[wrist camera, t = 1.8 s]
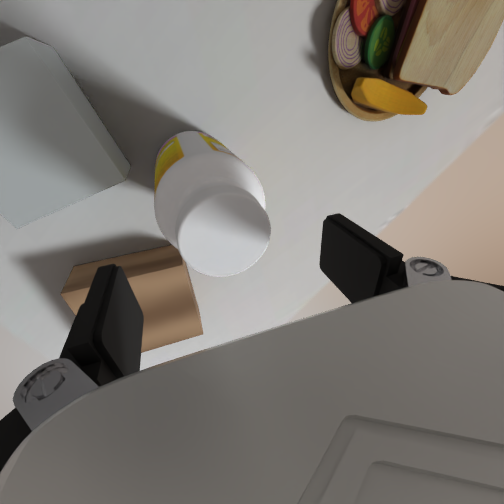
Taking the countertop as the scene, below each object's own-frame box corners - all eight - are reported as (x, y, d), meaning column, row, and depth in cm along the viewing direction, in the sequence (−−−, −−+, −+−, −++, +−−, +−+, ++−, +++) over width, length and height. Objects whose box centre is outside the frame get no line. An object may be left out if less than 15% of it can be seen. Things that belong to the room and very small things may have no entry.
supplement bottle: (165, 210, 23) (170, 305, 13) (145, 133, 19) (130, 182, 9) (233, 199, 25) (286, 276, 15) (227, 126, 21) (292, 161, 11)
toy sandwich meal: (366, -119, 16) (429, -183, 12) (481, -18, 21) (550, -41, 18) (300, 99, 22) (329, 101, 18) (403, 135, 27) (442, 143, 23)
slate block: (-70, 97, 15) (-131, 99, 12) (53, 47, 16) (26, 36, 12) (39, 206, 20) (17, 229, 17) (130, 166, 20) (125, 180, 17)
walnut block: (73, 266, 23) (60, 294, 20) (179, 243, 25) (182, 264, 22) (114, 332, 29) (109, 362, 26) (198, 309, 31) (203, 334, 28)
